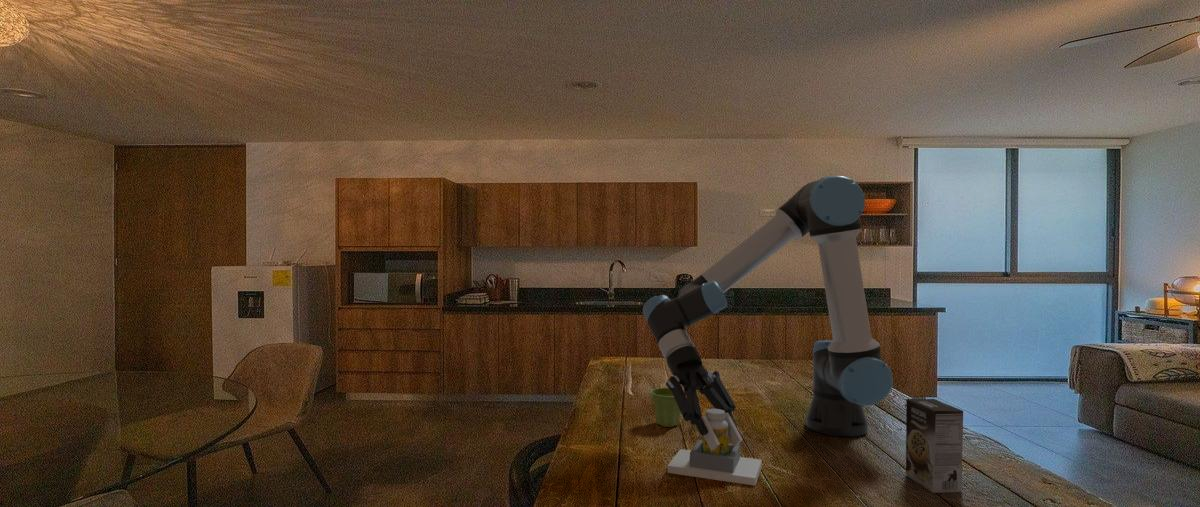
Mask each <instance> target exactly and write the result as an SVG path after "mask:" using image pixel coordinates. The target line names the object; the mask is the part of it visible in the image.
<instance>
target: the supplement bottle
mask: <svg viewBox="0 0 1200 507" xmlns="http://www.w3.org/2000/svg"><path fill="white" fill-rule="evenodd" d="M705 416H706V417H707V419H708V421H709V423H710V425H711V427H712V429H713V431H714V433H715V435H716V437H717V439H718V441H719V443H720V445H719V446H718V447H717V448H716V449H715V450H714V451H711V450H710V448H709V446H708V444H707V442H706V440H705V438H704V436H702V440H703V453H708V454H716V455H724V456H728V443H729V436H728V423H727V421H725V420H724V419H725V411H724V410H720V409H715V408H709V409H706V410H705Z"/></svg>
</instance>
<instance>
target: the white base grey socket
mask: <svg viewBox="0 0 1200 507" xmlns="http://www.w3.org/2000/svg"><path fill="white" fill-rule="evenodd" d="M762 467H763V460H762V459H758V458H751V457H743V456H741V444H738V445H737V446H735V447H734V446H733V444H732V443H730V442H728V456H724V455H716V454H708V453H703V439H698V440H697V442H696V443H695V445H694V446H693V447H692V449H691V450H689V449H683V448H680V449H679V450H678V451H677V453H676V454H675V455H674V457H673V458H672V460H670V462H669V463H668V464H667V473H668V474H674V475H679V476H687V477H695V478H701V479H707V480H715V481H721V482H726V483H727V482H728V483H733V484H734V483H736V484H740V485H741V484H742V485H749V486H753V487H755V486H756V484H757V483H758V482H757V481H758V479H759V476H760V473H761V470H762Z"/></svg>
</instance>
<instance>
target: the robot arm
mask: <svg viewBox="0 0 1200 507" xmlns="http://www.w3.org/2000/svg"><path fill="white" fill-rule="evenodd" d="M865 205H866V198H865V193H864V192H863V190H862V188H861V187H860V185H859V183H857V182H856V181H854V180H853V179H851V178H849V177H846V176H844V175H843V176H842V175H829V176H825V177H822V178H820V179H817V180H815V181H811V182H809V183H807V184H805V185H803V186H802V187H801V188H800V189H799V190H797V192H795V194H793V195H792V196H791V197H790V198H789V199H788V200H787V201H786V202H784V203H783V204H782V205H781V206H779V207H778V209H776V210H775V216H773V217H772V218H771V219H769V220H768V221H767V222H766V223H765V224H763V225H762V226H760V228H758V229H757V230H755V232H753V233H752V234H751V235H750V236H748V237H747V238H746V239H744V240H743V241H742V242H741V243H739V244H738V245H737V246H735V247H734V248H733V249H732V250H730V251H728V252H727V254H725V255H724V256H723V257H721V258H720V259H718V261H716V262H715V263H713V264H712V265H711V266H710V267H709V268H707V269H706V270H705V271H704V272H702V273H701V274H700V275H699V276H697V277H696V278H695V279H693V280H692V281H691V282H689V283H686V284H685V285H683V286H682V287H681V289H680V290H679V292H678V296H677V297H675V298H672V299H671V298H669V296H667V295H666V294H659V295H655V296H652V297H650V298H649V299H648V300H647V301H646V302H645V303H644V304H643V308H642V313H643V314H642V315H643V316H644V319H645V321H646V324H647V326H648V328H649V329H650V331H651V333H652V336H653V338H654V340H655V342H656V343H657V345H658V348H659V349H660V352H661V354H662V356H663V358H664V360H665V361H666V365H667V366H668V368H669V370H670V372H671V374H672V375H671V376H670V377H669V379H668V380H667V381H666V383H665V385H666V387H667V388H669V389H670V390H671V391H672V393H673V396H674V398H675V400H676V403H677V405H678V407H679V409H680V412H681V414H680V415H681V416H682V418H683V420H684V422H689V421H690V424H691V425H693V426H695V427H696V428H697V430H698V433H699V434H700V436H702V437H703V436H704V438H705V440H706V442H707V444H708V446H709V448H710V450H711V451H714V450H715V449H716V448H717V447H718V446H719V445H720V443H719V441H718V439H717V437H716V435H715V433H714V431H713V429H712V427H711V425H710V423H709V421H708V419H707V417H706V415H705V416H703V413H702V409H701V405H700V402H699V397H698V394H697V391H698V392H699V393H700V394H701V395H704V397H705V398H706V399H707V401H708V402H709V403H710V404H711V406H713V409H720V410H724V411H725V419H724V420H725V421H727V423H728V439H729V440H730V442H731V444H733V446H734V447H735V446H737V445H740V443H742V441H743V438H742V436H741V433H740V432H739V430H738V428H737V427H738V423H737V422H736V421H735V418H734V416H733V415H732V413H733V411H734V410H735V409H736V407H737V406H736V405H735V403H734V401H733V398H732V397H731V396H730V393H729V392H728V390H727V389H726V387H725V385H724V383H723V382H722V379H721V376H720V373H719V371H717V370H714V371H713V372H710V371H708V370H707V369H706V368H705V366H703V361H702V357H701V356H700V353H699V351H698V350H697V348H696V347H695V344H694V342H693V340H692V338H691V337H690V335H689V333H688V332H687V329H686V328H688V327H690V326H692V325H694V324H696V323H698V322H701V321H702V320H704V319H707V318H709V317H711V316H712V315H713V316H714V315H717V314H718V313H719V312H720V311H722V310H724V309H726V308H727V307H728V301H727V298H726V296H725V294H724V293H726V292H727V291H729V290H730V289H731V288H733V287H734V286H735V285H736V284H737V283H738V282H740V281H742V280H743V279H744V278H745V277H747V276H748V275H749V274H750V273H752V272H753V271H755V270H756V269H757V268H758V267H759V266H760V265H762V264H763V263H765V262H766V261H767V260H768V259H770V258H771V257H772V256H774V255H775V254H776V253H777V252H778V251H780V250H781V249H782V248H784V247H785V246H787V245H788V244H789V243H790V242H792V241H793V240H794V239H802V238H803V237H804V236H806V235H807V234H808V233H809V237H810V238H811V239H812V240H814V241H815V242H816V243H817V247H818V254H819V259H820V265H821V272H822V273H821V274H822V279H823V285H824V290H825V291H824V293H825V297H826V298H825V299H826V304H827V310H828V317H829V323H830V329H831V335H832V340H817V341H815V342H814V343H813V349H812V350H813V351H812V399H811V401H810V405H809V407H808V410H807V413H806V414H805V415H806V416H805V426H806V428H808V429H810V431H813V432H816V433H818V434H819V433H820V434H824V435H829V436H834V437H846V438H848V437H849V438H852V437H860V436H861V437H862V436H863V435H867V433H868V432H869V422H868V419H867V416H866V414H865V412H866V411H865V410H864V408H863V407H868V406H869V407H870V406H873V405H877V404H879V403H881V402H882V401H883V400H884V399H886V398H887V397H888V395H889V394H890V392H891V391H892V388H893V384H894V377H893V373H892V370H891V368H890V367H889V365H887V363H886V362H885V361H883V357H882V356H883V355H882V351H881V344H880V343H879V342H878V341H877V340H876V339H875V338H873V336H872V332H871V326H870V320H869V312H868V306H867V301H866V293H865V288H864V281H863V274H862V268H861V263H860V262H861V261H860V256H859V255H860V254H859V250H858V243H857V237H858V235H859V234H860V233H861V231H863V230H862V221H861V216H862V214H863V212H864V210H865V207H866V206H865Z"/></svg>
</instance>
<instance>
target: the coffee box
mask: <svg viewBox="0 0 1200 507" xmlns="http://www.w3.org/2000/svg"><path fill="white" fill-rule="evenodd" d="M905 400H906V403H905V404H906V406H905V408H906V409H905V410H906V413H905V417H906V422H905V425H906V426H905V427H906V428H905V433H906V434H905V444H906V445H905V476H906V477H908V478H910V479H911V480H913V481H914V482H915V483H917V484H919V485H921V487H923V488H925V489H926V490H928V491H929V492H930V493H933V494H934V493H937V494H938V493H939V494H941V493H942V494H943V493H962V491H963V490H962V484H963V482H962V481H963V477H962V476H963V445H964V444H963V441H964V438H963V437H964V410H962V409H960V408H957V407H954V406H953V405H949V404H947V403H946V402H943V401H941V400H938V399H936V398H919V397H918V398H906V399H905Z"/></svg>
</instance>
